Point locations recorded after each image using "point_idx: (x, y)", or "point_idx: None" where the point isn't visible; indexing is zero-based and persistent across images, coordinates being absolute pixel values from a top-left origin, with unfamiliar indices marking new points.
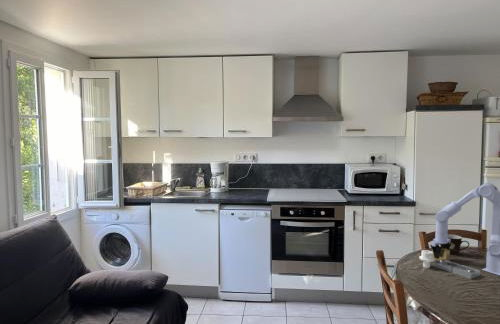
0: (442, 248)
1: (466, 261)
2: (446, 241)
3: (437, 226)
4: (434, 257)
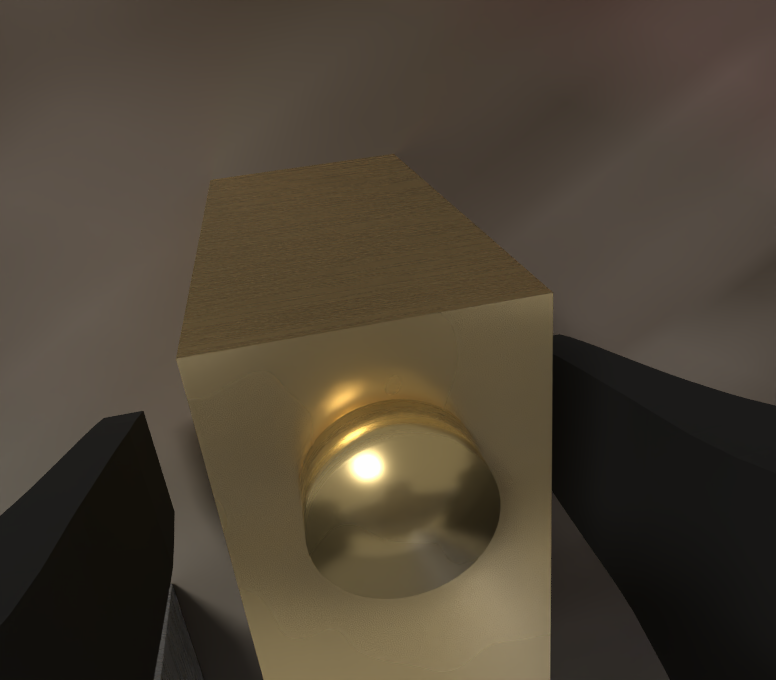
0: (500, 675)
1: None
2: None
3: None
4: (93, 430)
